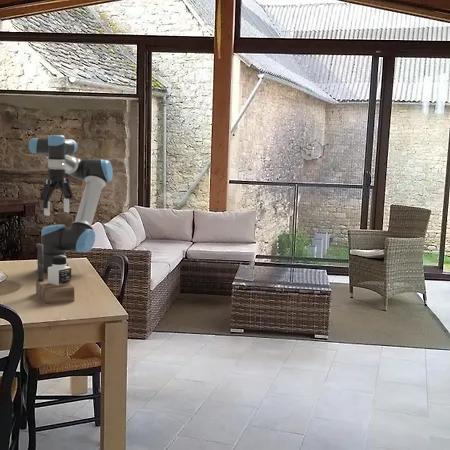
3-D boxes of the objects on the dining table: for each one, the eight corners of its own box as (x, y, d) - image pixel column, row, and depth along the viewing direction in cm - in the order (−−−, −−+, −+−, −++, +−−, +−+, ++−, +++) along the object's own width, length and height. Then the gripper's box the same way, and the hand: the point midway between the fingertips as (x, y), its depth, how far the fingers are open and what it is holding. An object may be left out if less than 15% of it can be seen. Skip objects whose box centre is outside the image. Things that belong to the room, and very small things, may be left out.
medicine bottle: (59, 286, 262) (58, 258, 260) (47, 283, 266) (47, 256, 264) (71, 282, 268) (71, 255, 266) (60, 280, 272) (59, 253, 270)
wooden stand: (35, 292, 273) (34, 243, 270) (62, 289, 279) (62, 242, 276) (45, 303, 256) (45, 251, 253) (74, 300, 262) (74, 250, 259)
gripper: (44, 170, 273) (44, 217, 277) (80, 167, 296) (80, 211, 299) (31, 169, 277) (32, 215, 280) (67, 167, 299) (68, 210, 302)
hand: (57, 213), depth 289 cm, fingers open, 13 cm apart
